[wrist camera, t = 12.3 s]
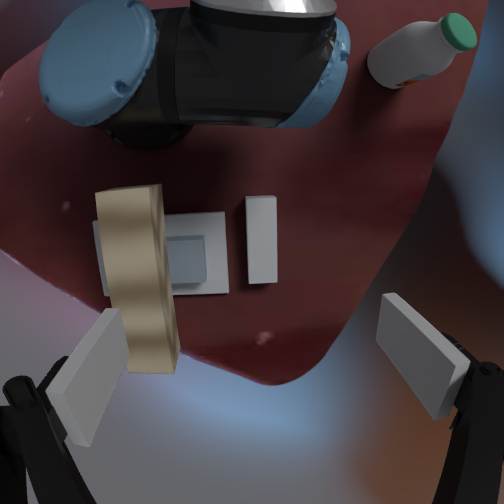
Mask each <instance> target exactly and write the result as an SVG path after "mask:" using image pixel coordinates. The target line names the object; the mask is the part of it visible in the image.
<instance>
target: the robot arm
mask: <svg viewBox="0 0 504 504" xmlns="http://www.w3.org/2000/svg"><path fill="white" fill-rule="evenodd" d="M336 10H337V4H336V3H335V1H334V0H190V7H178V8H163V9H152V10H150V9H149V8H148V6H146V5H145V4H144V3H142V2H139V1H137V0H92V1H90V2H88V3H86V4H84V5H82V6H81V7H79V8H78V9H76V10H75V11H73V12H72V13H71V14H70V15H69V16H68V17H67V18H66V19H65V20H64V21H63V23H62V25H61V26H60V27H59V28H58V29H57V30H56V31H55V32H54V33H53V34H52V36H51V37H50V39H49V41H48V43H47V45H46V47H45V49H44V52H43V55H42V58H41V61H40V66H39V76H38V80H39V88H40V93H41V96H42V98H43V101H44V102H45V103H46V105H47V106H48V108H49V109H50V111H51V112H53V113H54V114H55V115H56V116H58V117H60V118H62V119H65V120H66V121H68V122H69V123H72V124H73V125H80V126H91V127H95V128H100V129H104V130H105V131H106V132H107V134H108V135H109V136H110V137H111V138H112V139H113V140H114V141H116V142H117V143H119V144H120V145H122V146H124V147H127V148H130V149H134V150H141V151H152V150H158V149H162V148H165V147H168V146H170V145H172V144H174V143H175V142H177V141H178V140H180V139H181V138H182V137H184V136H185V135H186V134H187V133H188V132H189V131H190V129H191V128H192V127H193V125H194V124H210V125H242V126H260V127H265V128H268V129H274V128H275V129H278V128H281V127H288V128H306V127H311V126H313V125H316V124H317V123H319V122H320V121H321V120H322V119H323V118H325V116H326V115H327V114H328V113H329V112H330V110H331V109H332V107H333V106H334V104H335V102H336V100H337V98H338V96H339V94H340V92H341V89H342V87H343V84H344V81H345V78H346V74H347V70H348V65H347V64H346V60H347V58H348V56H349V54H350V37H349V33H348V30H347V28H346V26H345V25H344V23H343V22H342V21H340V20H338V19H337V18H336V17H335V14H336ZM376 341H377V343H378V344H379V345H380V347H381V348H382V349H383V351H384V352H385V353H386V355H387V356H388V357H389V359H390V360H391V361H392V363H393V364H394V366H395V367H396V368H397V369H398V371H399V372H400V373H401V375H402V376H403V378H404V379H405V380H406V382H407V383H408V385H409V386H410V387H411V389H412V390H413V391H414V393H415V394H416V395H417V397H418V398H419V400H420V401H421V402H422V404H423V405H424V407H425V408H426V410H427V411H428V412H429V414H430V415H431V417H432V418H433V420H437V419H441V418H444V417H446V416H449V414H450V412H451V410H452V407H453V405H455V407H456V408H457V409H458V411H457V414H456V416H455V418H454V420H453V422H452V424H451V426H450V428H449V429H452V427H453V430H452V435H451V439H450V444H449V448H448V452H447V456H446V460H445V463H444V467H443V471H442V474H441V477H440V481H439V484H438V487H437V490H436V493H435V496H434V499H433V502H432V504H497V500H498V495H499V488H500V481H501V472H502V464H503V461H504V370H502V369H501V368H500V367H499V366H498V365H496V364H495V363H492V362H479V361H478V360H477V359H475V357H473V356H472V355H471V354H470V353H469V352H468V351H467V350H466V349H465V348H463V346H461V345H460V344H458V342H457V341H456V340H455V339H454V338H453V337H452V336H449V335H447V334H445V333H443V332H441V333H440V332H439V331H438V330H437V329H435V328H434V327H433V326H432V325H431V324H430V323H429V322H428V321H427V320H425V319H424V318H423V317H422V316H421V315H420V314H419V313H418V312H416V311H415V310H414V309H413V308H412V307H411V306H410V305H408V304H407V303H406V302H405V301H404V300H403V299H402V298H400V297H399V296H398V295H397V294H396V293H389V294H383V295H382V302H381V309H380V316H379V322H378V329H377V335H376ZM129 357H130V352H129V348H128V344H127V340H126V335H125V331H124V327H123V322H122V318H121V313H120V308H106V309H105V310H104V311H103V313H102V314H101V315H100V316H99V318H98V319H97V320H96V322H95V323H94V324H93V326H92V327H91V328H90V330H89V331H88V332H87V333H86V335H85V336H84V338H83V339H82V340H81V341H80V343H79V344H78V346H77V347H76V348H75V350H74V351H73V352H72V354H71V355H70V356H64V357H62V358H61V359H60V360H58V361H57V362H56V363H55V364H54V365H53V367H52V368H51V371H49V372H48V373H47V376H45V378H44V379H43V381H42V382H41V383H40V384H39V386H38V387H37V389H36V387H35V385H34V383H33V381H32V379H31V378H29V377H28V376H22V375H21V376H16V377H14V378H11V379H10V380H8V381H7V382H6V383H5V385H4V386H3V393H4V395H5V397H6V399H7V400H8V402H9V404H10V406H0V504H28V501H27V486H26V468H27V472H28V475H29V478H30V481H31V484H32V487H33V490H34V492H35V495H36V497H37V500H38V503H39V504H97V503H96V502H95V500H94V498H93V496H92V495H91V493H90V491H89V490H88V488H87V486H86V484H85V482H84V480H83V478H82V476H81V475H80V473H79V471H78V469H77V467H76V465H75V462H74V460H73V458H72V456H71V454H70V452H69V450H68V448H67V446H66V444H65V442H64V440H65V438H66V436H67V435H68V436H69V438H70V440H71V441H72V443H73V444H74V445H79V446H84V447H90V446H91V443H92V441H93V438H94V436H95V434H96V431H97V429H98V426H99V424H100V422H101V419H102V417H103V414H104V412H105V410H106V407H107V405H108V403H109V400H110V398H111V396H112V394H113V391H114V389H115V387H116V385H117V383H118V380H119V378H120V376H121V374H122V372H123V369H124V367H125V365H126V363H127V361H128V359H129Z"/></svg>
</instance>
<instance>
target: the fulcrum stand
mask: <svg viewBox="0 0 504 504" xmlns="http://www.w3.org/2000/svg"><path fill="white" fill-rule="evenodd" d="M164 221H165V232H166V243H167V252H168V262H169V271H170V279H171V287H172V295H187V294H213V293H229V283H228V266H227V248H226V228H225V211H221V212H202V213H184V214H169V215H164ZM93 229H94V237H95V244H96V251H97V257H98V263H99V269H100V275H101V280H102V286H103V291H104V296H110V294H109V289H108V284H107V279H106V273H105V267H104V261H103V254H102V248H101V241H100V233H99V225H98V220H95V221H93Z"/></svg>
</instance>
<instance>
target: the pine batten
mask: <svg viewBox="0 0 504 504" xmlns="http://www.w3.org/2000/svg"><path fill="white" fill-rule="evenodd" d="M95 196H96V207H97V216H98V225H99V233H100V241H101V248H102V254H103V261H104V267H105V273H106V279H107V284H108V289H109V294H110V300H111V304H112V308H120V313H121V318H122V322H123V327H124V331H125V335H126V340H127V344H128V348H129V352H130V357H129V359H128V361H127V363H126V366H127V369H128V373H146V374H148V373H149V374H174V372H175V368H176V364H177V360H178V356H179V352H180V343H179V337H178V330H177V324H176V317H175V310H174V302H173V295H172V287H171V279H170V271H169V262H168V252H167V243H166V232H165V221H164V208H163V194H162V184H150V185H139V186H129V187H120V188H113V189H109V190H105V191H101V192H97V193H95Z"/></svg>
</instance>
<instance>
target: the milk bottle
mask: <svg viewBox="0 0 504 504" xmlns="http://www.w3.org/2000/svg"><path fill="white" fill-rule="evenodd" d="M476 43H477V37H476V33H475V31H474V29H473V27H472V25H471V24H470V23H469V21H468V20H467V19H465V18H464V17H463V16H461V15H460V14H457V13H450V14H448V15H446V16H445V17H443V18H441V19H440V20H439V21H438V22H425V21H421V22H414V23H411V24H408V25H406V26H405V27H403V28H401V29H400V30H398V31H397V32H395V33H394V34H392V35H391V36H389V37H388V38H386V39H385V40H383V41H382V42H381V43H379V44H378V45H377V46H375V47H374V48H373V49H372V50H371V51H370V52H369V54H368V58H367V64H368V69H369V71H370V74H371V75H372V77H373V78H374V79H375V80H376V81H377V82H378V83H379V84H381V85H383V86H385V87H387V88H391V89H397V88H401V87H404V86H407V85H409V84H412V83H415V82H417V81H420V80H423V79H426V78H428V77H431V76H433V75H436V74H438V73H440V72H442V71H443V70H445V69H446V68H447V67H448V66H449V65H450V63H451V62H452V60H453V58H454V56H455V55H456V54H457V53H458V52H464V51H467V50H470V49H473V48H474V47H475V46H476Z"/></svg>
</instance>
